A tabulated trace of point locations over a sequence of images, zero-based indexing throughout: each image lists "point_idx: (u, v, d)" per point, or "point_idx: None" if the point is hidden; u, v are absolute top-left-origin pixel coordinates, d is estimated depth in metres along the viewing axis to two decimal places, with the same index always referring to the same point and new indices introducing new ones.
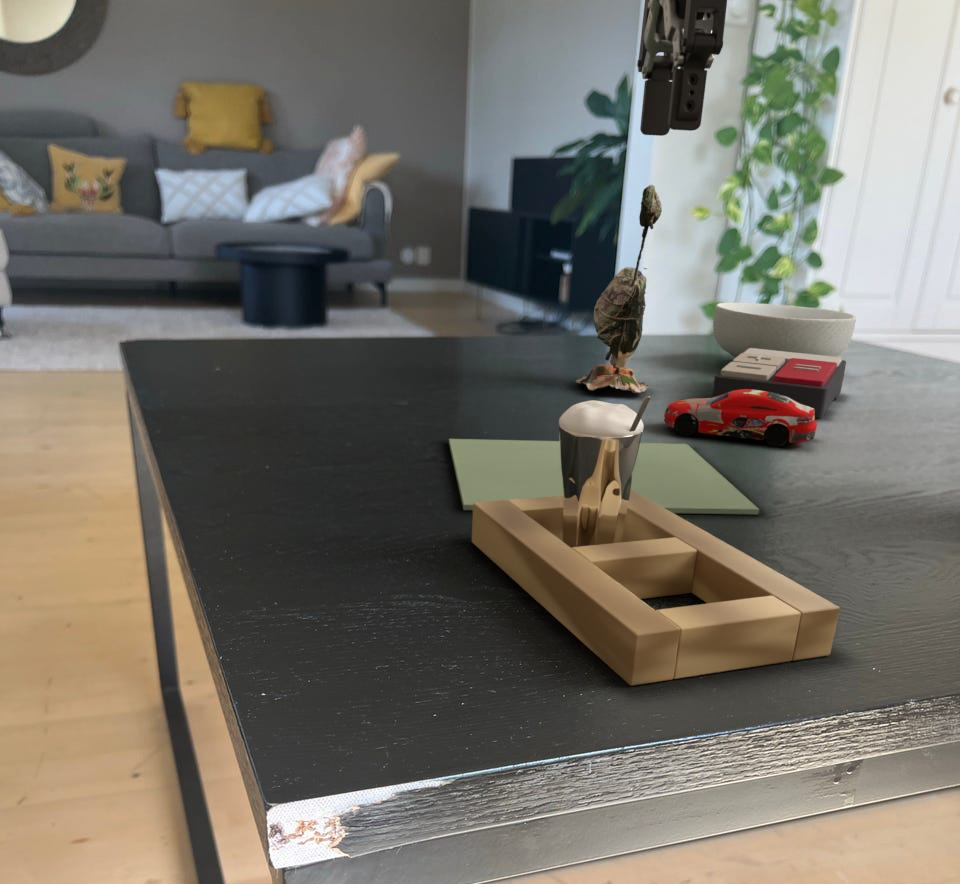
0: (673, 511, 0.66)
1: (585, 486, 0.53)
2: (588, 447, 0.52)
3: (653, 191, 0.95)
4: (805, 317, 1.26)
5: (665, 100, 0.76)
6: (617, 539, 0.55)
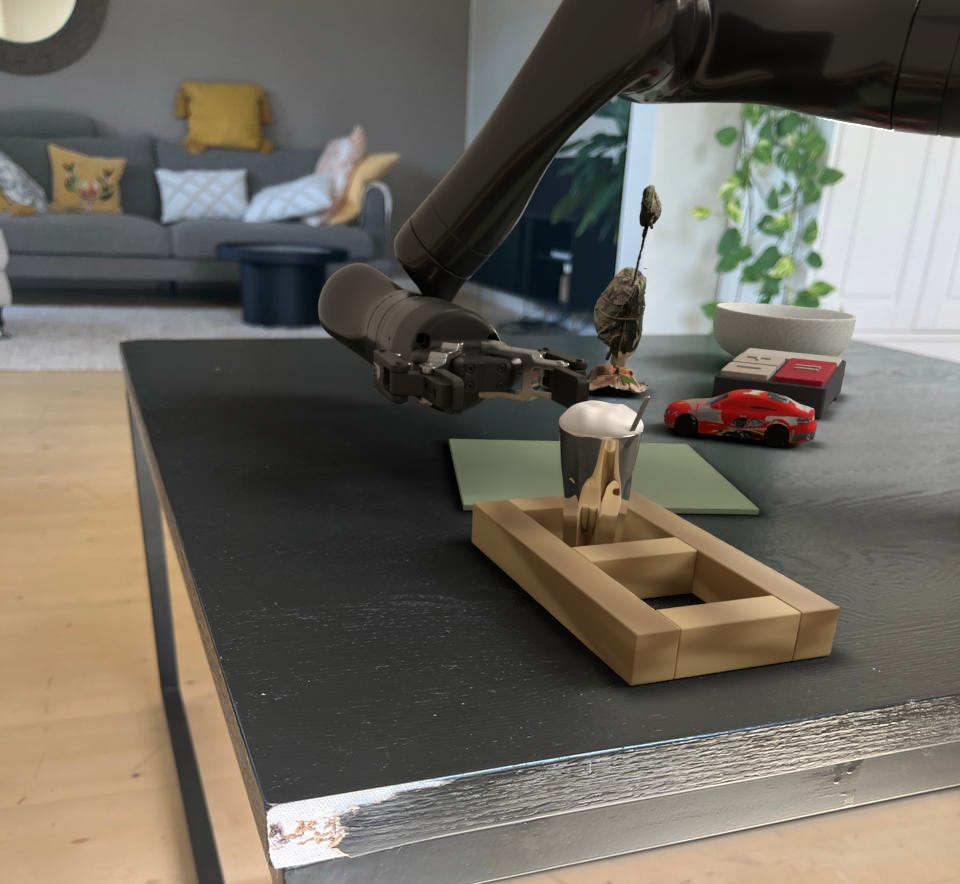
0: (673, 511, 0.66)
1: (585, 486, 0.53)
2: (588, 447, 0.52)
3: (653, 191, 0.95)
4: (805, 317, 1.26)
5: (561, 379, 0.65)
6: (617, 539, 0.55)
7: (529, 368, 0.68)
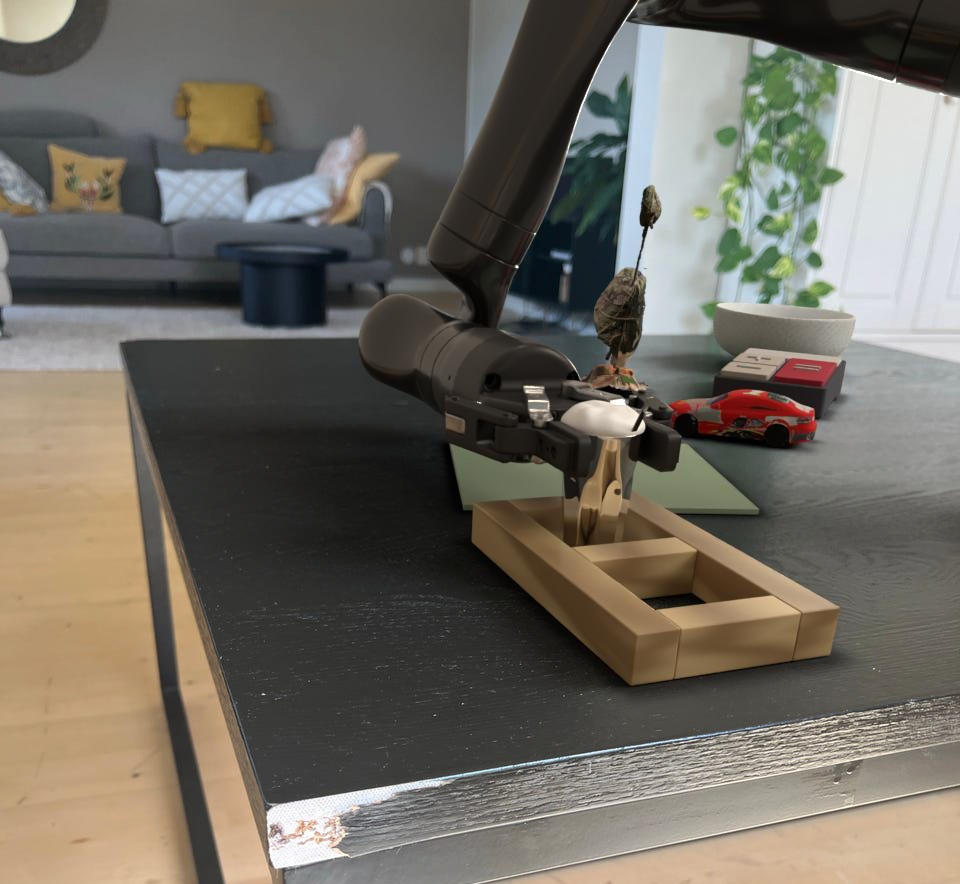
0: (673, 511, 0.66)
1: (586, 486, 0.53)
2: None
3: (653, 191, 0.95)
4: (805, 317, 1.26)
5: (645, 433, 0.54)
6: (617, 539, 0.55)
7: None
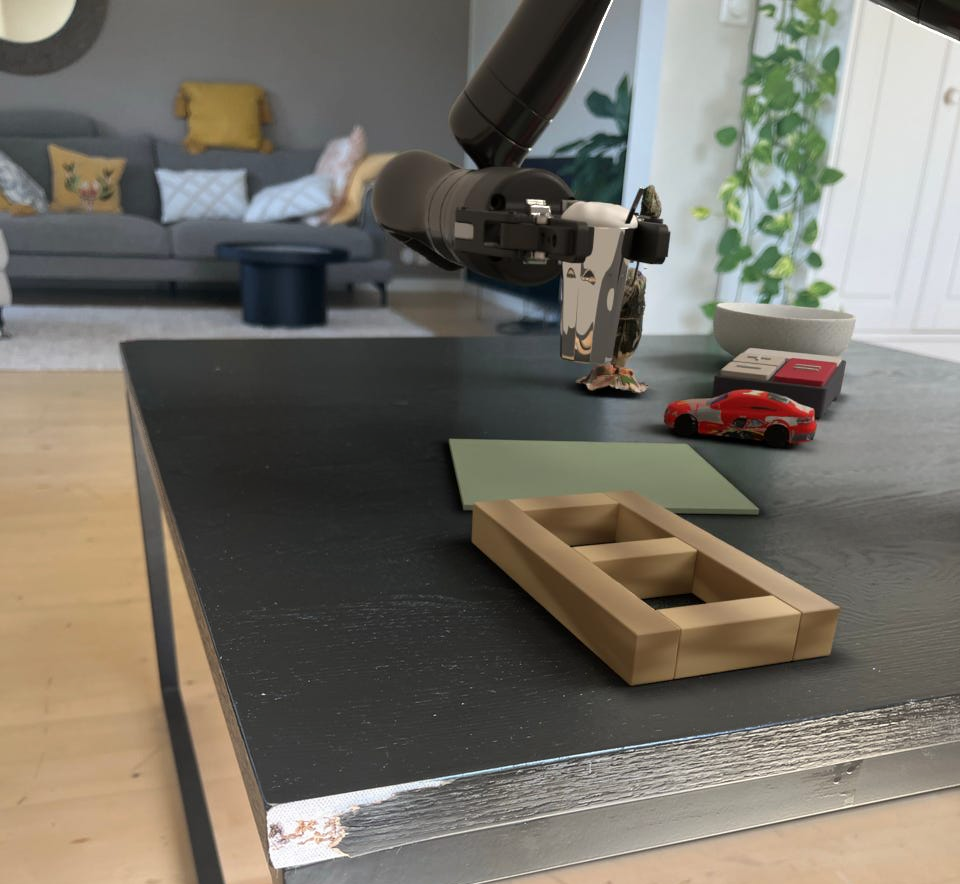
0: (673, 511, 0.66)
1: (584, 277, 0.58)
2: None
3: (653, 191, 0.95)
4: (805, 317, 1.26)
5: (637, 232, 0.59)
6: (612, 333, 0.60)
7: None
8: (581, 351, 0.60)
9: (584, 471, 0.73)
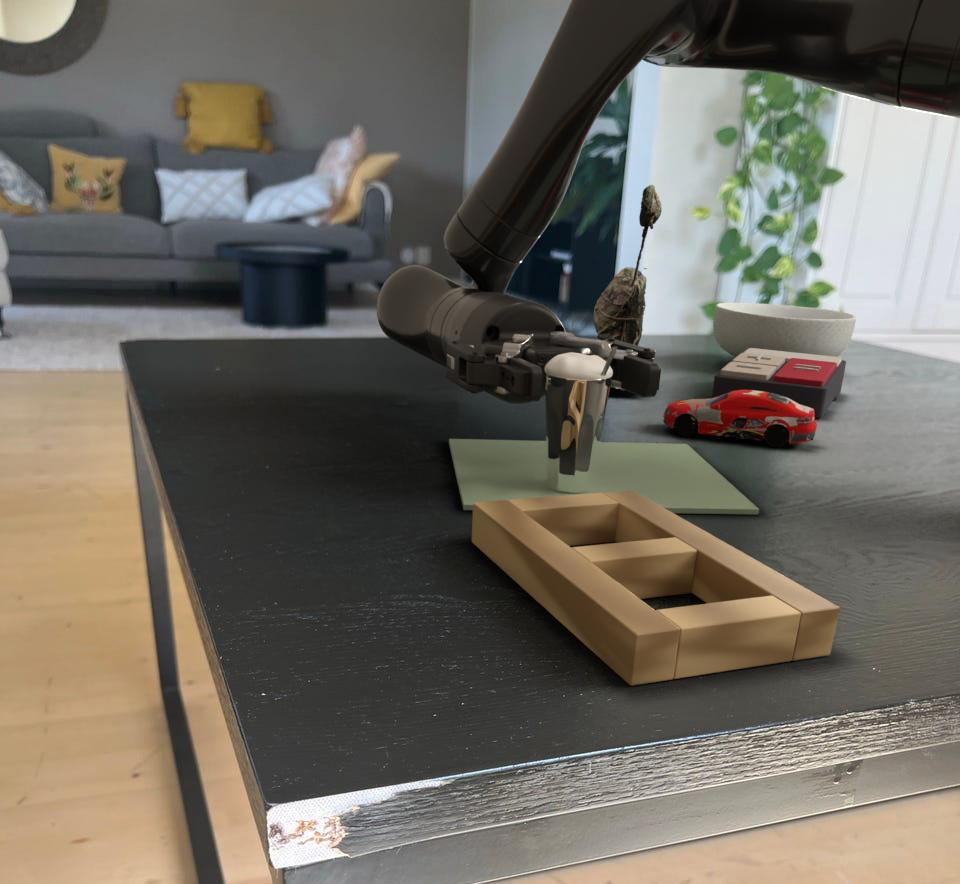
0: (673, 511, 0.66)
1: (565, 421, 0.66)
2: (568, 388, 0.65)
3: (653, 191, 0.95)
4: (805, 317, 1.26)
5: (632, 367, 0.67)
6: (592, 466, 0.68)
7: None
8: (564, 482, 0.68)
9: None
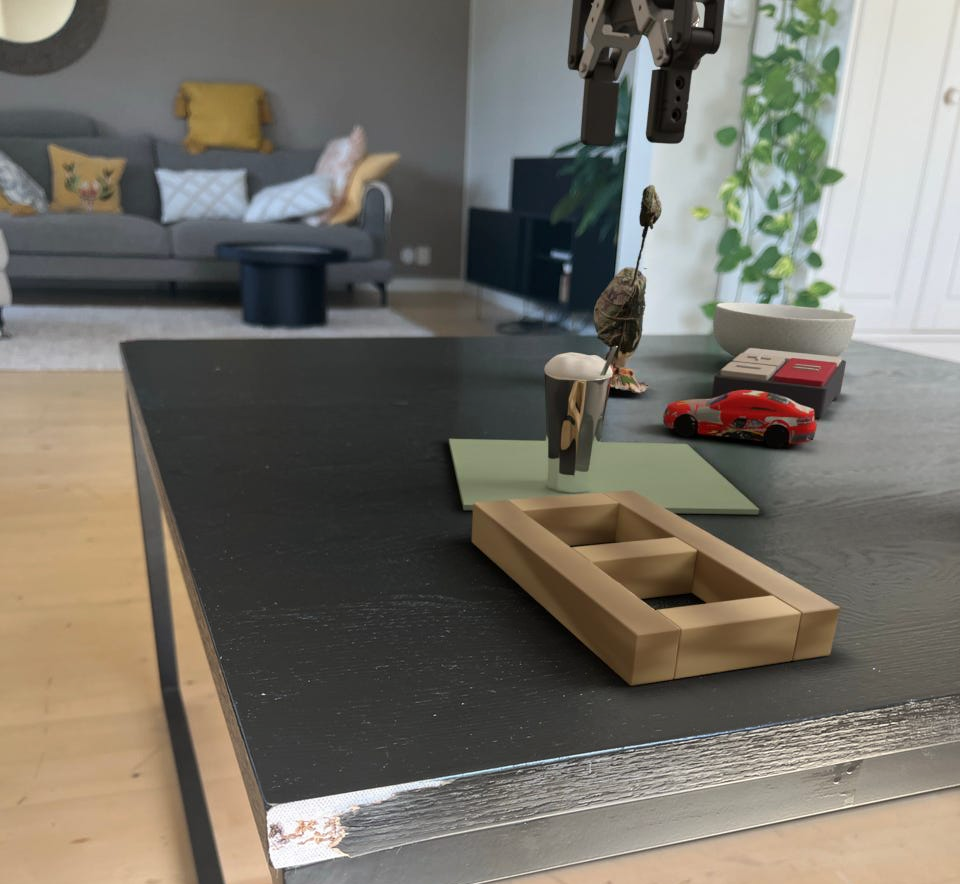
0: (673, 511, 0.66)
1: (565, 421, 0.66)
2: (567, 388, 0.65)
3: (653, 191, 0.95)
4: (805, 317, 1.26)
5: (609, 105, 0.64)
6: (592, 466, 0.68)
7: (623, 45, 0.62)
8: (564, 482, 0.68)
9: None
